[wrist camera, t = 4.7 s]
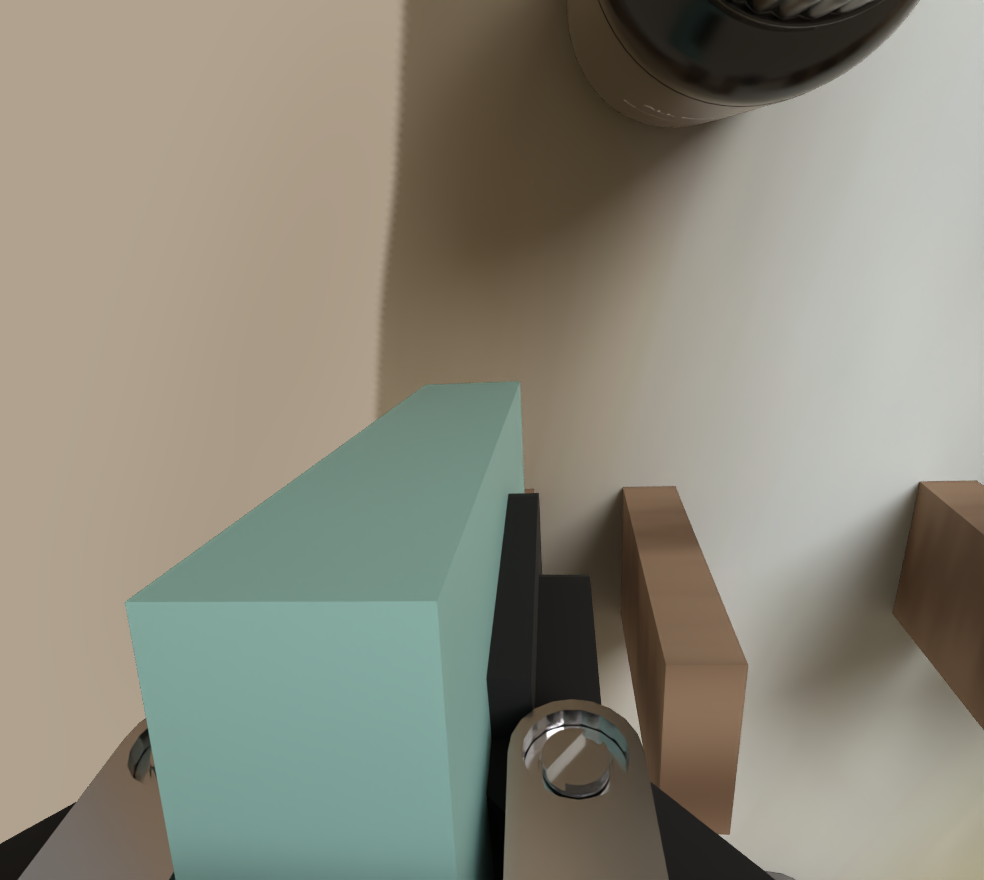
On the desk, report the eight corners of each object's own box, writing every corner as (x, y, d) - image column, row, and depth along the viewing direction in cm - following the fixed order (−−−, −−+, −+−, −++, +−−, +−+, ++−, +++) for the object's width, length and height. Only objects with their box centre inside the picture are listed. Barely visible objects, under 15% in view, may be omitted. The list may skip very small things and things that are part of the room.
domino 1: (623, 487, 26) (665, 664, 16) (675, 486, 26) (748, 665, 16) (620, 613, 28) (657, 832, 19) (668, 613, 28) (729, 834, 19)
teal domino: (425, 384, 14) (125, 601, 4) (520, 381, 14) (435, 601, 4) (443, 642, 15) (247, 1270, 5) (530, 643, 15) (486, 1294, 5)
